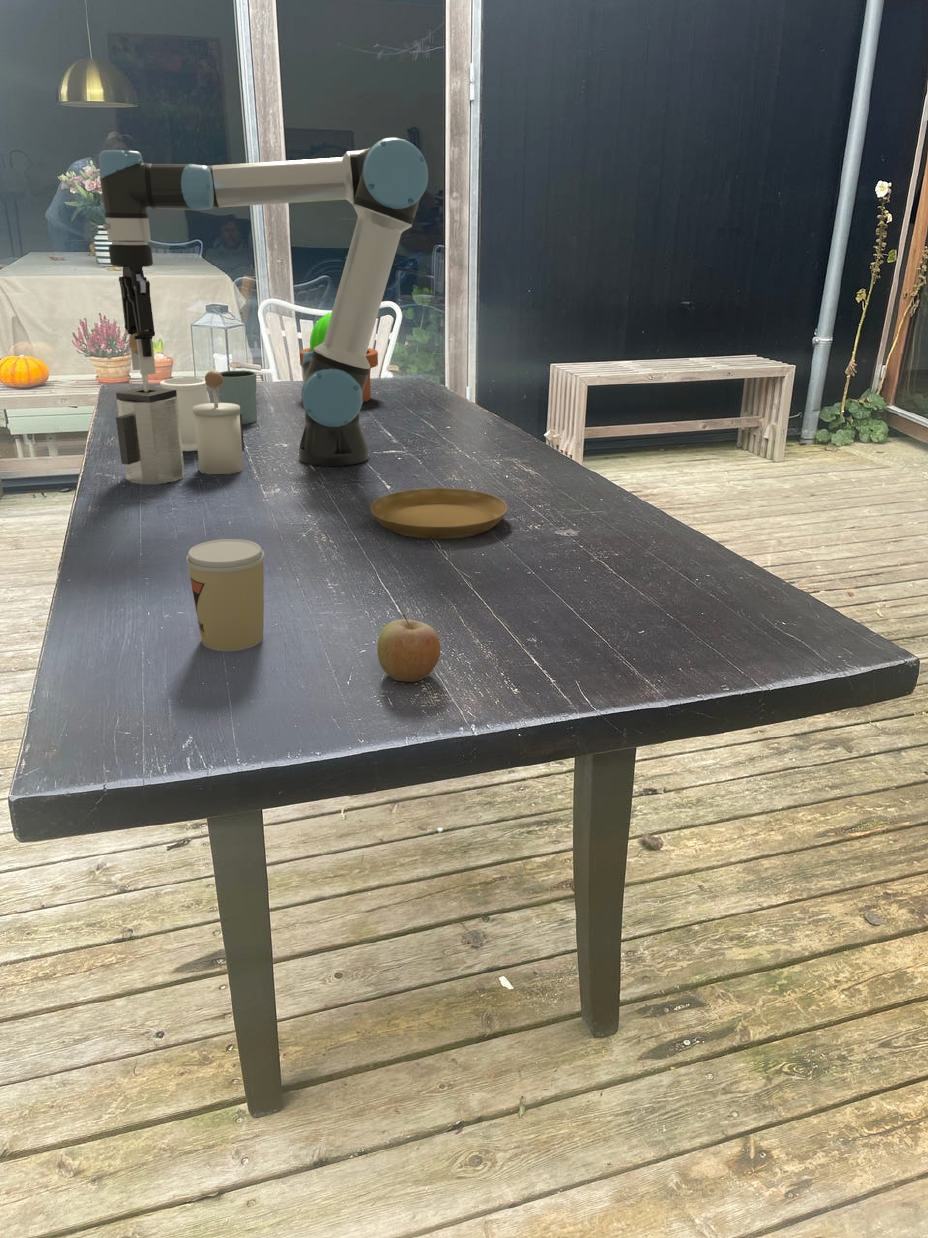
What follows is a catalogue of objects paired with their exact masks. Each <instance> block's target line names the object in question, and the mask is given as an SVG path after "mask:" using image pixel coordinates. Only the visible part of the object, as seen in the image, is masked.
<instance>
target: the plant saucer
mask: <svg viewBox="0 0 928 1238" xmlns="http://www.w3.org/2000/svg"><path fill="white" fill-rule="evenodd" d="M369 508H370V511H371V515H372V516H373V517H374V519H375V520H376V521H377V522H378V523H379V524H380V525H381V526H382V527H383V528H385V529H387V530H389V531H390V532H393V533H395V534H398V535H401V536H406V537H410V538H415V539H416V538H417V539H424V540H425V539H426V540H427V539H428V540H453V539H461V538H462V539H463V538H469V537H473V536H478V535H480V534H482V533H485V532H488V530H490V529H492V528H494V527H495V526H496V525H498V524H499V523H500V522H501V521H502V519H503V518H504V516H506V514H507V511H508V505H507V503H506V502H505V501H504V500H503V499H501V498H499V497H498V496H496V495H492V494H490V493H486V492H482V491H479V490H478V491H477V490H472V489H464V488H455V487H454V488H452V487H430V488H415V489H408V490H401V491H398V492H394V493H390V494H386V495H383V496H381V497H379V498H377V499H375V500H374V501H373V502H372V503H371V505H370V507H369Z"/></svg>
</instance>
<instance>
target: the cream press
mask: <svg viewBox="0 0 928 1238" xmlns="http://www.w3.org/2000/svg"><path fill="white" fill-rule="evenodd" d="M204 379H205V383H206V385H207V387H208V388H210V389H212V394H213V395H212V396H213V402H210V403H207V404H200V405H196V406H194V407H193V414H194V418H195V428H196V439H197V449H198V451H197V458H198V468H199V469H198V470H199V473H201V472H203V473H202V474H204V473H206V474H205V475H210V474H227V475H232V474H231V473H234V474H237V473H236V472H238V473H240V472H242V471H244V457H243V456H244V455H243V452H245V442H244V431H243V430H244V429H243V424H242V414H241V413H240V406H239V405H237V404H232V403H220V402H219V397H218V388H219V387H221V385H222V384H223V377H222V375H221V374H220V373H219V371H218V370H210V371H208V372H207V373H206V374H205V377H204Z"/></svg>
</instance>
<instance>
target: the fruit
mask: <svg viewBox="0 0 928 1238" xmlns="http://www.w3.org/2000/svg"><path fill="white" fill-rule="evenodd" d="M401 616H402V619H395V620H393V621H390V622H388V623H387V624H386V625H385V626H384V627H383V629H382V630H381V632H380V634H379V636H378V640H377V646H376V647H377V648H376V649H377V650H376V651H377V658H378V662H379V665H380V667H381V668H382V670H383V672H385V674H386V675H387V676H389V677H390V678H391V679H393V680H395V681H400V682H411V683H413V682H418V681H422V680H423V679H424V678H426V677H427V676H429V674H431V673H432V672H433V670H434V669H435V668H436V666H437V664H438V662H439V659H440V656H441V641H440V638H439V634H438V633H437V632H436V630H435V629H434V628H433V627H431V626H430V625H429V624H427V623H425V622H422V621H418V620H413V619H407V617H406V615H405V613H404V612H403V613H402V614H401Z"/></svg>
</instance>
